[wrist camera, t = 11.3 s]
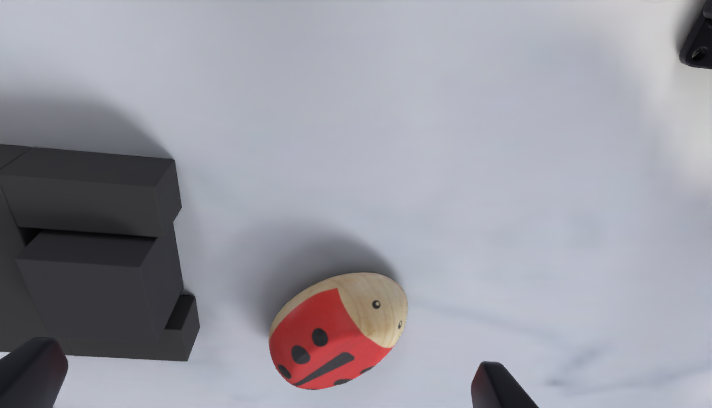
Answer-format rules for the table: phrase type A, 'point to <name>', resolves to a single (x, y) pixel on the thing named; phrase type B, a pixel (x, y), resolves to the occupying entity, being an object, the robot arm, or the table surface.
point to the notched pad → (88, 214)
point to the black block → (102, 283)
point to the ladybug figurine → (337, 329)
